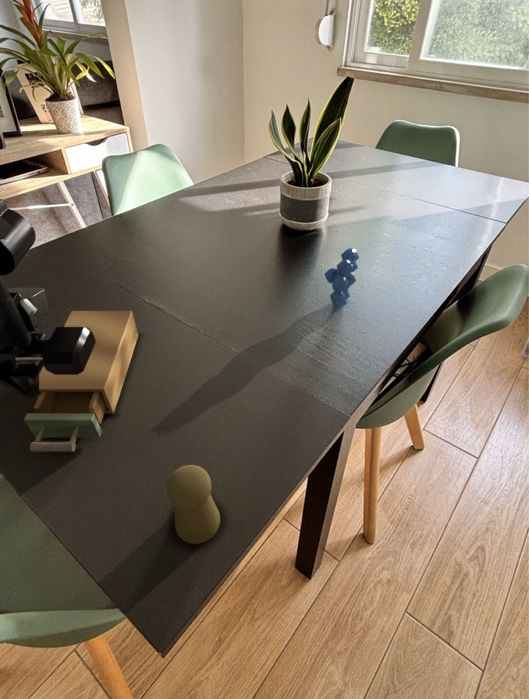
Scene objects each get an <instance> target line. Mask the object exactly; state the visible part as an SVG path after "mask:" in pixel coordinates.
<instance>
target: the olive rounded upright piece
mask: <svg viewBox="0 0 529 699" xmlns="http://www.w3.org/2000/svg"><path fill="white" fill-rule="evenodd" d="M211 481H212V480H211V477H210V475H209V473H208V472H207V471H206V470H205V469H204V468H203V467H201V466H199V465H196V464H187V465H182V466H180V467H178V468H177V469H175V471H174V472H172V473H171V475H170V476H169V478H168V481H167V486H166V491H167V492H166V494H167V496H168V498H169V501H170V502H171V503H172V505H174V527H175V528H174V529H175V531H176V533H177V536H178V537H179V539H181V540H182V541H184V542H186V543H188V544H194V545H198V544H201V543H203V544H204V543H205V542H207V541H209V540H211V539H212V538H213V536H214V535H216V534H217V532H218V529H219V527H220V523H221V515H220V511H219V509H218V507H217V505H216V503H215V501H214V498H213V497H212V495H211V491H212V486H213V485H212V482H211Z"/></svg>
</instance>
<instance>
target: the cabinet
mask: <svg viewBox="0 0 529 699" xmlns="http://www.w3.org/2000/svg"><path fill="white" fill-rule="evenodd" d="M63 327H88V328H89V329H90V330H91V331H92V332H93V335H94V338H95V340H96V343H95V345H94V348H93V350H92V352H91V355H90V357H89V360H88V362H87V364H86V367H85V369H84V371H83V372H81V373H80V374H78V375H54V374H53V373H51V372H49V371H47V370H46V369H45V367H44V365H43V366H42V368H41V370H40V372H39V394H38V396H37V398H36V399H37V400H38V398H39V396H40V394H41V392H102V395H103V397H104V400H105V402H106V404H107V407H106V410H105V413H104V415H105V414H106V415H114V414H115V411H116V408H117V404H118V402H119V398H120V395H121V392H122V389H123V385H124V383H125V380H126V376H127V373H128V370H129V367H130V363H131V360H132V358H133V354H134V350H135V347H136V345H137V342H138V338H139V333H138V328H137V325H136V321H135V317H134V314H133V310H71V312H70V314H69V316H68V318H67V320H66V322H65V323H64V325H63ZM37 400H36V401H37Z"/></svg>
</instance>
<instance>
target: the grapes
mask: <svg viewBox="0 0 529 699" xmlns="http://www.w3.org/2000/svg"><path fill="white" fill-rule="evenodd" d="M340 257H341V259H342V260H341V261H340V262H338V263H337V265H336V267H331V268H329V269H328V270H326V272H325V273H324V277H325V280H326V281H327V283H328V284H330V285H331V287H332V290H333V292H332V293H331V294H330V295H329V297H330V300H331V301H330V302H331V303H332V306H333V307H334V309H336V310H339V309H341V308H343V307H344V306H345V305H347V303H348V302H347V300H348V299H349V298H350V297H351V295H350V292H349V289H350V287H351V286H352V285H354V284H355V283H356V282H357V279H356V275H355V274H354V272H356V270H358V268H359V266H358V263H357V261H358V260H359V259H360V256H359V253H358V250H356V249H355V248H354V247H349V248H347V249H346V250H344V251H343V252H342V253H341V254H340Z"/></svg>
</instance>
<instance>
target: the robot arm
mask: <svg viewBox="0 0 529 699" xmlns="http://www.w3.org/2000/svg"><path fill="white" fill-rule="evenodd" d="M36 236H37V235H36V231H35V228H34V226H33V224H31V223H30V222H29V220H27V218H26V217H24V216H23V215H22V214H21V213H19V212H17V211H15V210H13V209H11V208H9V207H8V206H7V203H6V201H5V200H4V199H3V198H0V386H1V387H4V388H6V389H8V390H10V391H13V392H15V393H18V394H20V395H22V396H25V397H27V398H29V399H37V396H38V394H39V374H40V372H41V370H42V368H43V366H44V367H45V369H46V370H47V371H49V372H51V373H53V374H54V375H78V374H80V373H81V372H83V371H84V369H85V367H86V364H87V362H88V360H89V357H90V355H91V352H92V350H93V348H94V345H95V343H96V340H95V338H94V335H93V332H92V331H91V330H90V329H89V328H88V327H64V326H56V327H55V328H54V331H53V332H52V334H51V336H50V338H49V339H45V338H46V334H45V333H43V332H38V333H37V330H38V329H39V328H40V322H39V320H38V319H39V318H41V317H42V316H44V315H48V314H49V313H50V310H49V309H50V308H49V304H48V300H47V294H46V291H45V288H43V287H10V288H8V286H7V285H6V282H5V281H4V279H3V277H2V276H7V275H9V274H11V273H13V272H14V271H15V269H17V267H18V265H19V264H20V263H21V262H22V260H23V259H24V258H25V256H26V255H27V253H28V252H29V251H30V250H31V249H32V247H33V245H34V244H35V242H36ZM33 332H34V333H33Z"/></svg>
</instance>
